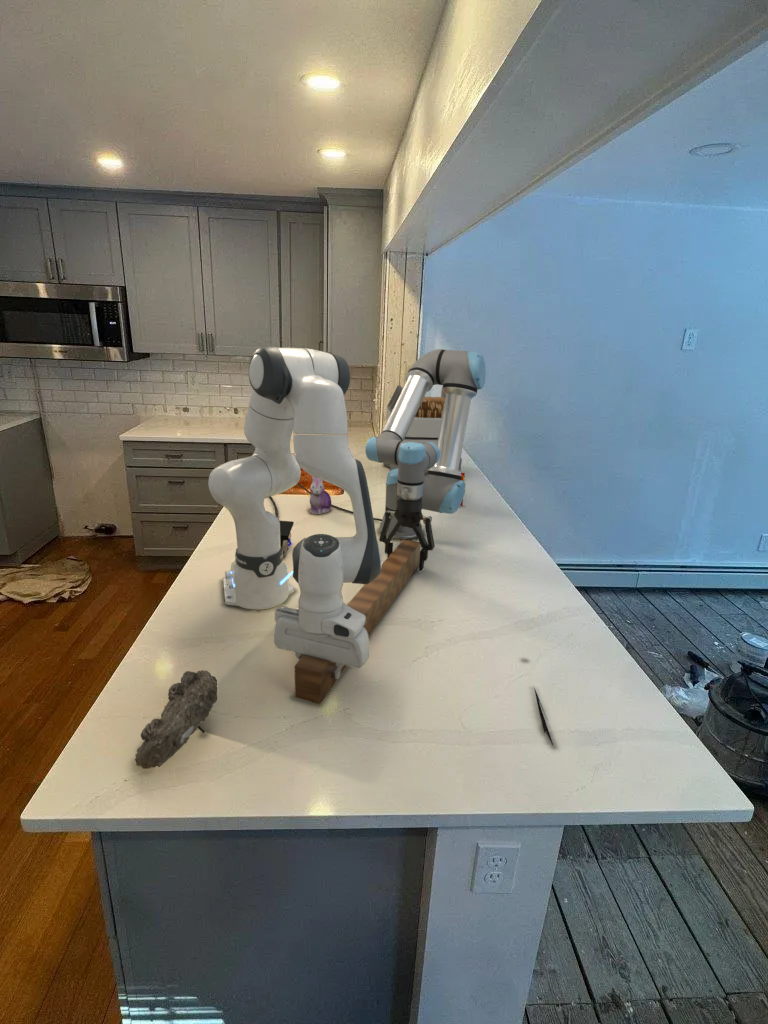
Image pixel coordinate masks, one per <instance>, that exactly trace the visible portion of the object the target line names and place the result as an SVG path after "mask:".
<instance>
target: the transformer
mask: <svg viewBox="0 0 768 1024" xmlns="http://www.w3.org/2000/svg"><path fill="white" fill-rule="evenodd" d="M403 388H404V387H402V385H399V384H398V385H397V386H396V388H395V390H394V392H393V394H392V395H391V398H390V400H389V402H388V404H387V405H386V413H385V414H386V415H385V423H386V422H387V420H388V418H389V416H390V414H391V412H392V410H393V408H394V406H395V404H396V402H397V400H398V398H399V396H400V394H401V392H402V390H403ZM442 388H443V386H442V387H441V392H440V393H441V394H440V396H424V399H423V401H422V403H421V405H420V407H419V409H418V411H417V413H416V415H415V417H414V420H413V422H412V424H411V426H410V428H409V430H408V432H407V434H406V436H405V439H404V441H406V442H416V443H423V442H432V443H434V444H436V445H437V441H438V436H439V430H440V424H441V419H442V413H443V408H444V402H445V397H446V395H445V393H444V392H443V390H442ZM462 453H463V451H462V452H461V454H462ZM462 461H463V460H462V456H461V457H460V463H459V468H458V470H459V471H460V472H461V473H462ZM382 464H383V466H384V467H388V468H389V472H390V471H391V470H393V469H397V468H398V465H394V464H387V463H382Z"/></svg>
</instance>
